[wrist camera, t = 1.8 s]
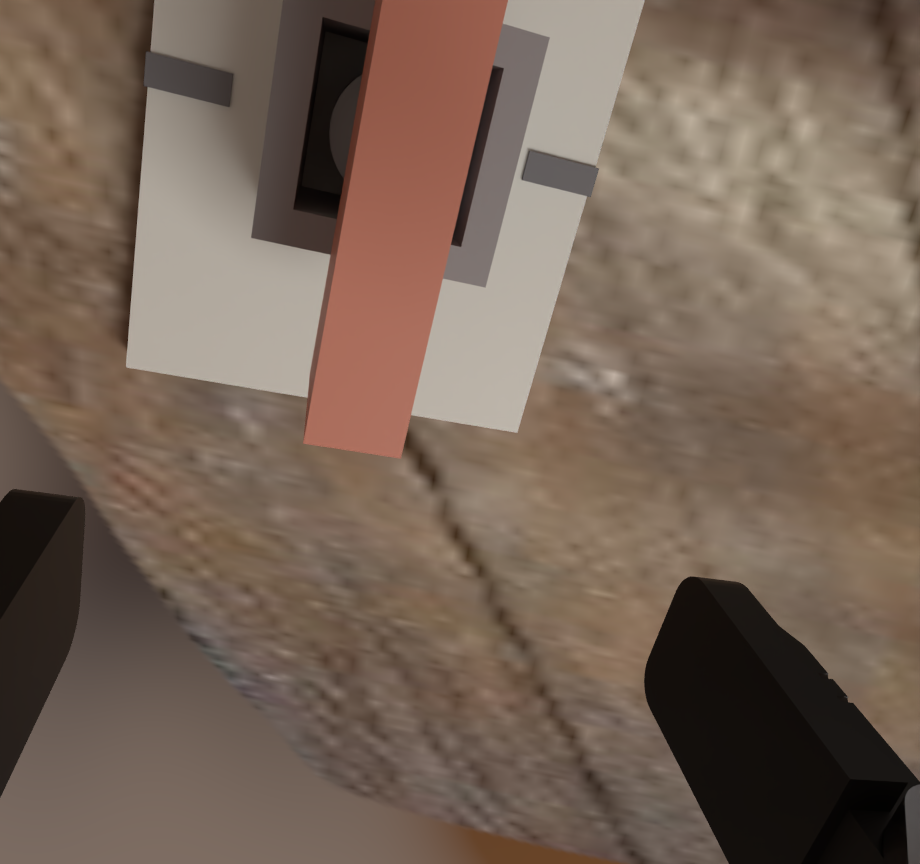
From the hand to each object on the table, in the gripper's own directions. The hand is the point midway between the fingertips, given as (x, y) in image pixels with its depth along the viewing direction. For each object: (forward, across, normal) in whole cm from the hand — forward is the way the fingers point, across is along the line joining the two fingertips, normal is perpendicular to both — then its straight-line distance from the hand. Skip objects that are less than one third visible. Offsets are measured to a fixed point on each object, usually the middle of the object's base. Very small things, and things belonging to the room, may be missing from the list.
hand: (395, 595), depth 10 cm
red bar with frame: (+19, 0, -5) cm, 20 cm away
